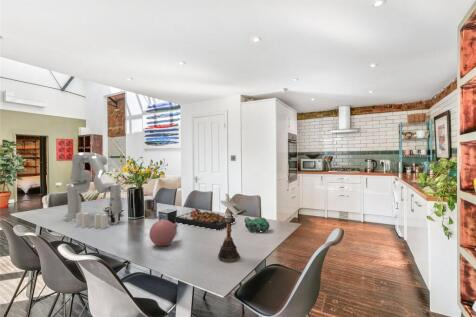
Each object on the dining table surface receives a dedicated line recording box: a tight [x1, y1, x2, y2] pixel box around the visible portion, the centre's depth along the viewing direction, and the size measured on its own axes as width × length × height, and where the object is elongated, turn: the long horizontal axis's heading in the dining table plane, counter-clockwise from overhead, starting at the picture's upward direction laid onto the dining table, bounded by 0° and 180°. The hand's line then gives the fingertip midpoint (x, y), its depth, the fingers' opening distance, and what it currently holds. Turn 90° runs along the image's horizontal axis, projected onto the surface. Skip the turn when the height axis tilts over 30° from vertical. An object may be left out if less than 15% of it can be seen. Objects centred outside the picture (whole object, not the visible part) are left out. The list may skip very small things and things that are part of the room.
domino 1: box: [75, 211, 84, 228], centre depth 182 cm, size 2×5×10 cm, turn 168°
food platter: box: [175, 208, 236, 231], centre depth 197 cm, size 45×25×10 cm, turn 62°
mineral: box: [244, 216, 270, 233], centre depth 175 cm, size 18×16×10 cm
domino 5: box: [111, 213, 119, 225], centre depth 190 cm, size 2×5×10 cm, turn 168°
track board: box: [78, 225, 106, 230], centre depth 180 cm, size 27×9×1 cm, turn 78°
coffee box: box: [143, 198, 158, 220], centre depth 211 cm, size 9×6×16 cm
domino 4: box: [100, 213, 109, 230], centre depth 178 cm, size 2×5×10 cm, turn 168°
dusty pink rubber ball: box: [148, 219, 179, 247], centre depth 148 cm, size 15×20×15 cm
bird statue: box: [217, 193, 247, 263], centre depth 127 cm, size 17×13×35 cm
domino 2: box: [81, 212, 90, 229], centre depth 181 cm, size 2×5×10 cm, turn 168°
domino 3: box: [93, 213, 102, 230], centre depth 179 cm, size 2×5×10 cm, turn 168°
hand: (115, 221), depth 190 cm, fingers closed on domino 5, 4 cm apart
